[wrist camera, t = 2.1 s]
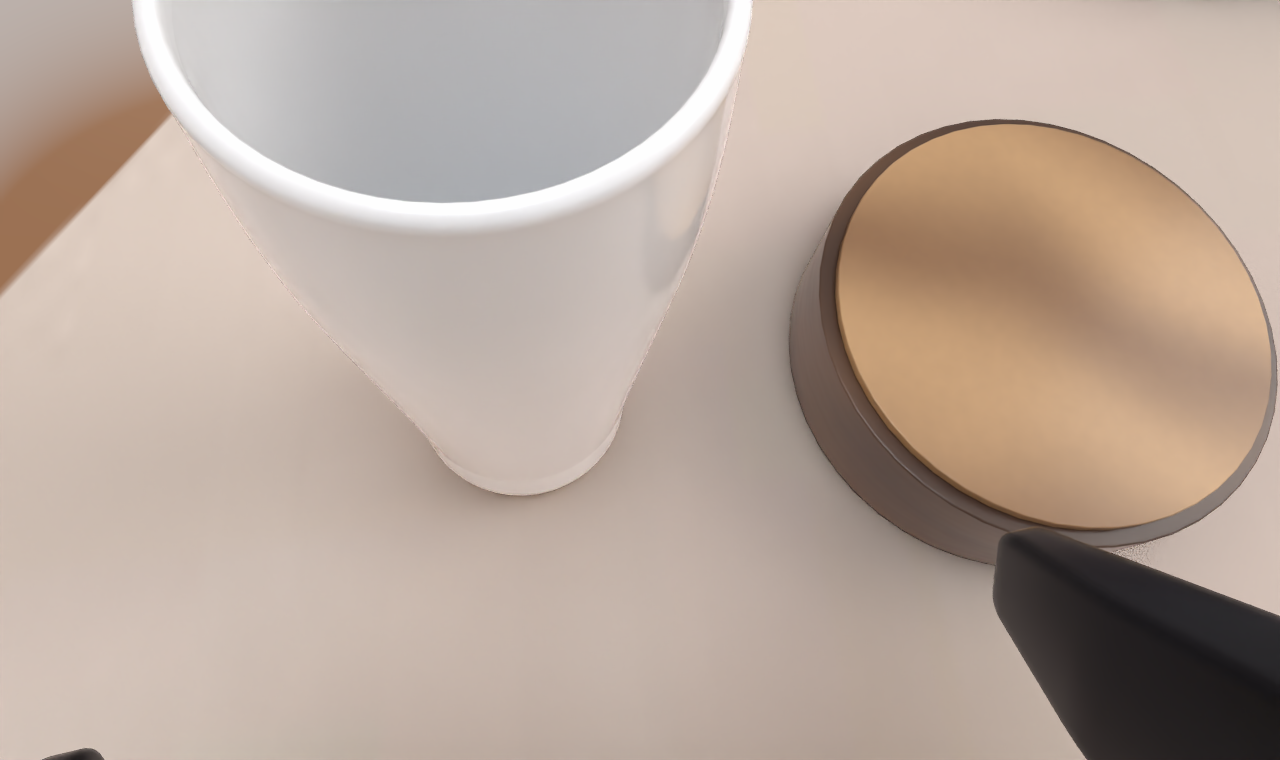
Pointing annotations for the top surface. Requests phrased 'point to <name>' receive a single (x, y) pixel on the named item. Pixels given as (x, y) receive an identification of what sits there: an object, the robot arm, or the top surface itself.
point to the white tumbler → (467, 192)
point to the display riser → (1031, 343)
